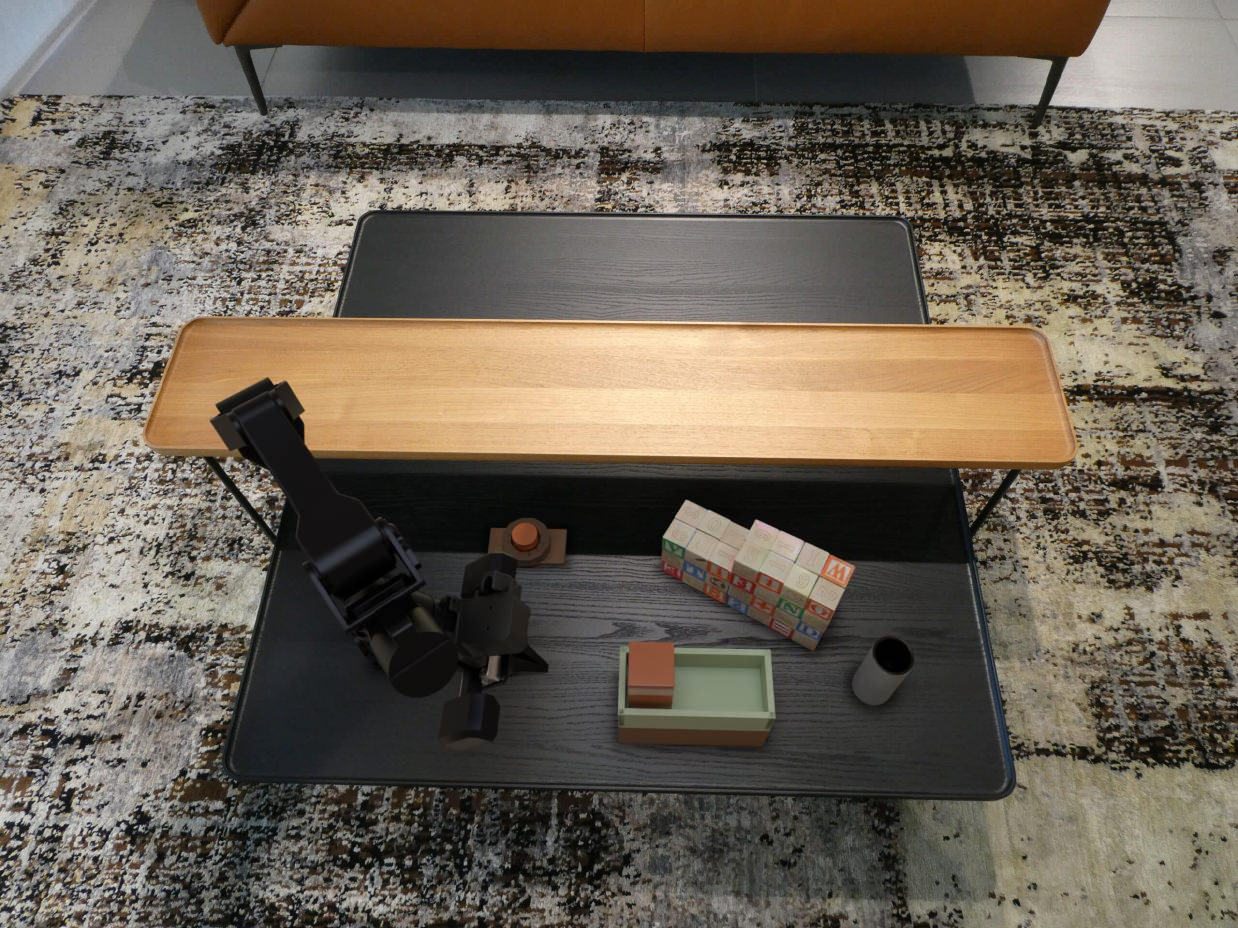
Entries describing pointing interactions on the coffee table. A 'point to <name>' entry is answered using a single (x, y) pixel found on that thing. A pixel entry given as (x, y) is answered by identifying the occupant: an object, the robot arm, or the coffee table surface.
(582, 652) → the coffee table surface
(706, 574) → the stack of blocks
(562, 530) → the button block
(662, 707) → the orange rectangular box
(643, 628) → the coffee table surface
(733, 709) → the bin
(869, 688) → the planter
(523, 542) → the button
